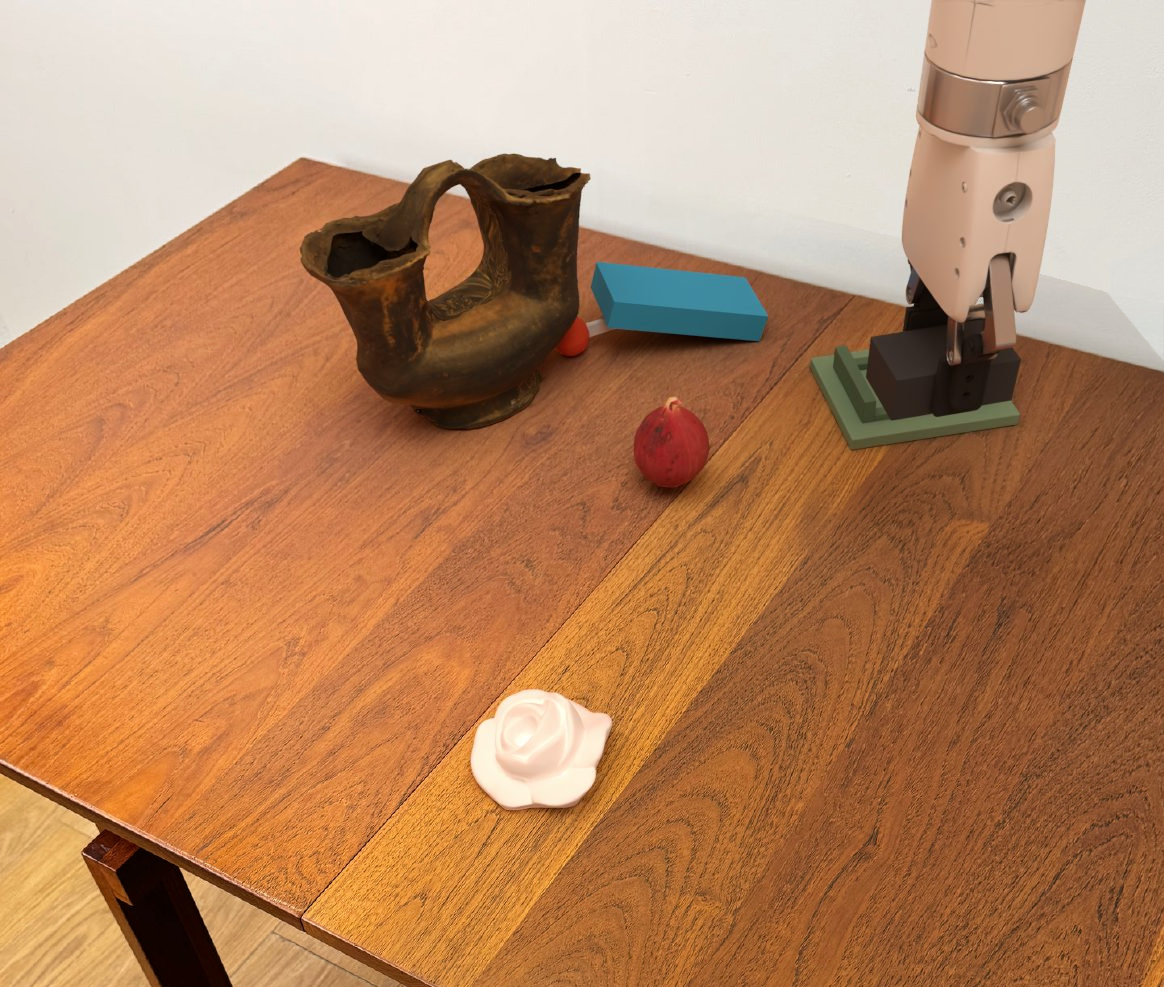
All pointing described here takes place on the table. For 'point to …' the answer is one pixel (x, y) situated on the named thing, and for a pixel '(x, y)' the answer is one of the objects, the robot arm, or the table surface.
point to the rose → (539, 751)
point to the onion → (671, 445)
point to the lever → (668, 305)
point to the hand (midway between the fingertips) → (938, 383)
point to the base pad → (869, 419)
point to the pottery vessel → (460, 289)
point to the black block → (927, 369)
